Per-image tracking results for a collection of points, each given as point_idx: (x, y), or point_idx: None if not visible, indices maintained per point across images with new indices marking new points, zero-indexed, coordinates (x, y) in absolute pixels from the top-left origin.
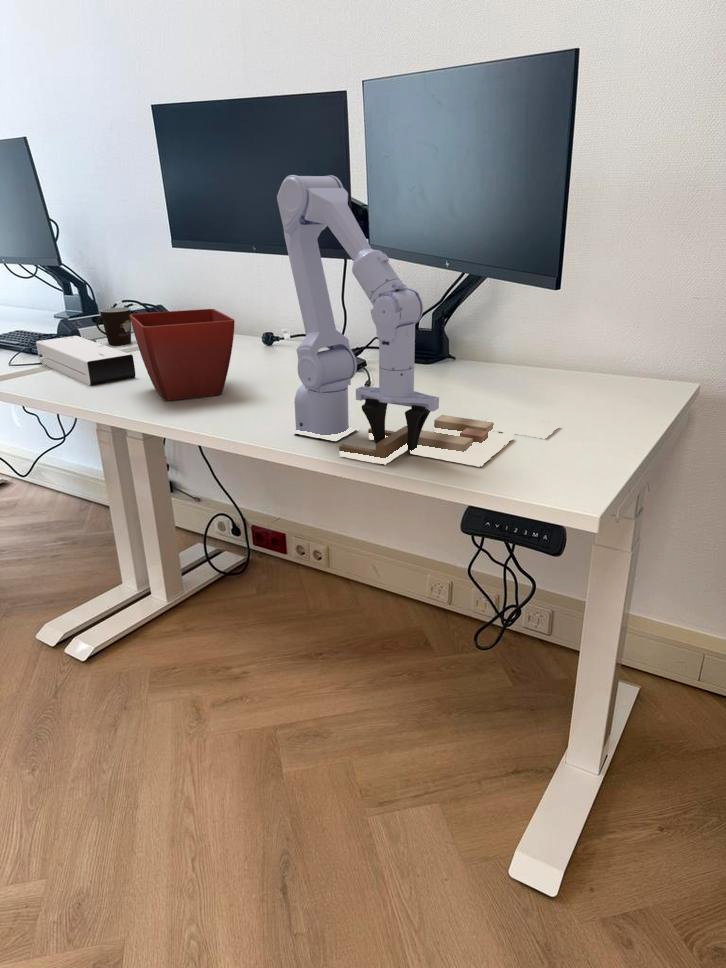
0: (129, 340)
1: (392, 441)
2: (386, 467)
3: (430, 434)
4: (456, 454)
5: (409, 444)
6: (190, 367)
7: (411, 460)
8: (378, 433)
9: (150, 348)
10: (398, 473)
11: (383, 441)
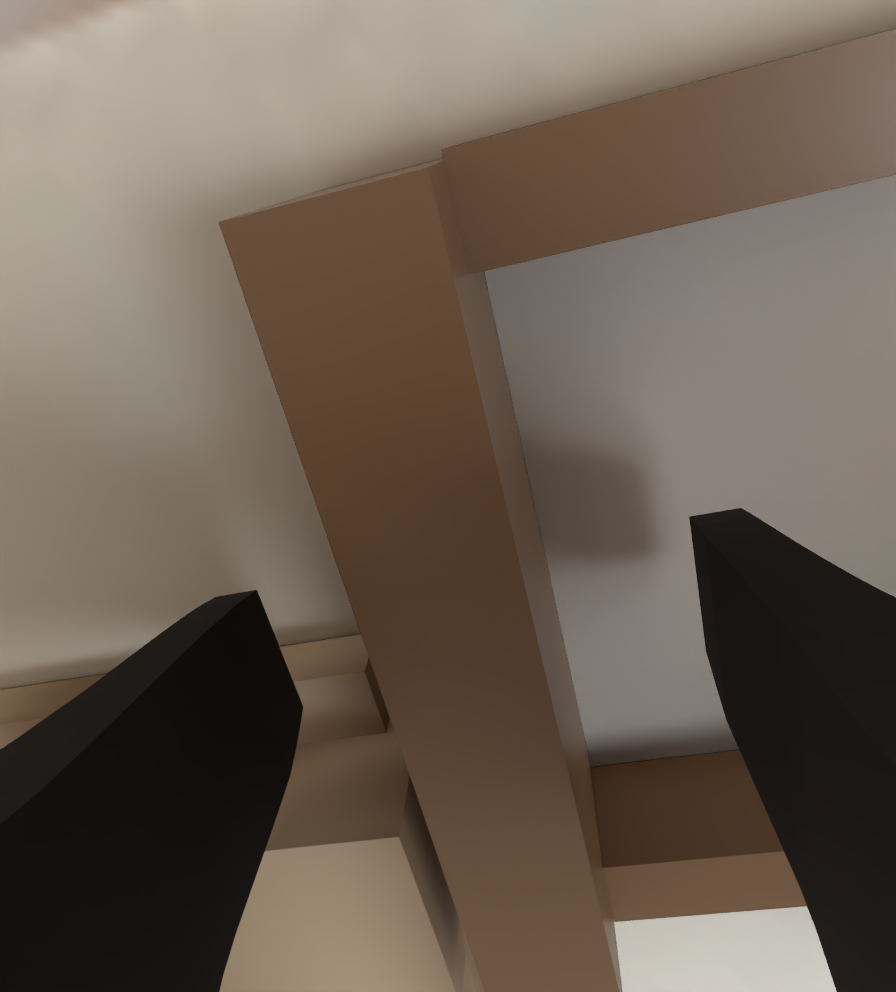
0: None
1: (311, 485)
2: (266, 156)
3: (249, 959)
4: None
5: (191, 626)
6: None
7: (239, 527)
8: (740, 616)
9: None
10: (6, 95)
11: (412, 380)
